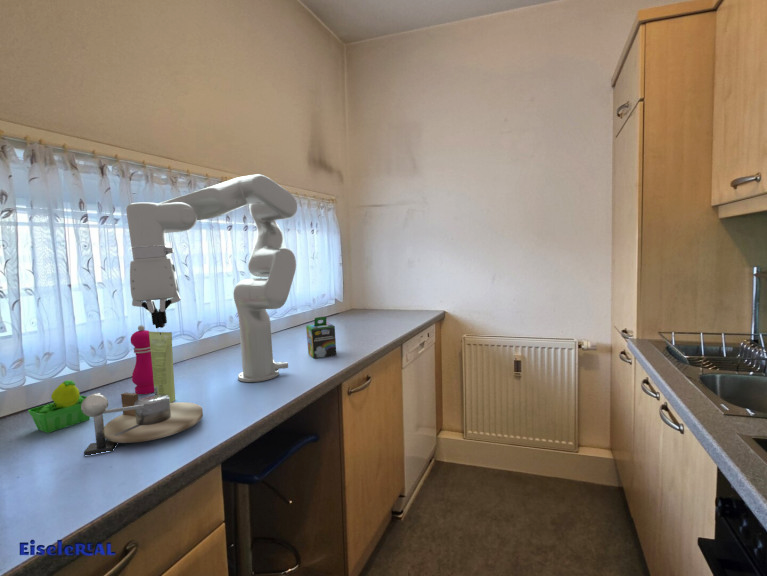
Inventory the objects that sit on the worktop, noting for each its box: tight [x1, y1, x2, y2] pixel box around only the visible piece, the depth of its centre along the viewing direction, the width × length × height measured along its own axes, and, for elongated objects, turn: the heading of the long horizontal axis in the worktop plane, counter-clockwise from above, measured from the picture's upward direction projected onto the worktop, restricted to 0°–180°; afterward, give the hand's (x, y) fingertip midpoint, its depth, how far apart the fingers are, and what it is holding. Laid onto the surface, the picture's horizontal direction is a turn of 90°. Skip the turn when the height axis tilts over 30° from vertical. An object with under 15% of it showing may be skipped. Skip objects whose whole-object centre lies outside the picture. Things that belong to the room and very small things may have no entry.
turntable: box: [104, 392, 204, 444], centre depth 97 cm, size 20×20×6 cm
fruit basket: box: [27, 379, 91, 434], centre depth 102 cm, size 11×9×11 cm
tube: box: [149, 331, 176, 403], centre depth 115 cm, size 6×5×20 cm
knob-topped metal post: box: [81, 392, 144, 457], centre depth 88 cm, size 11×4×12 cm, turn 109°
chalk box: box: [305, 316, 337, 360], centre depth 161 cm, size 9×9×15 cm
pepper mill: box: [130, 324, 154, 395], centre depth 125 cm, size 7×7×20 cm
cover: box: [134, 394, 171, 425], centre depth 96 cm, size 7×7×5 cm
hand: (160, 326), depth 106 cm, fingers closed
